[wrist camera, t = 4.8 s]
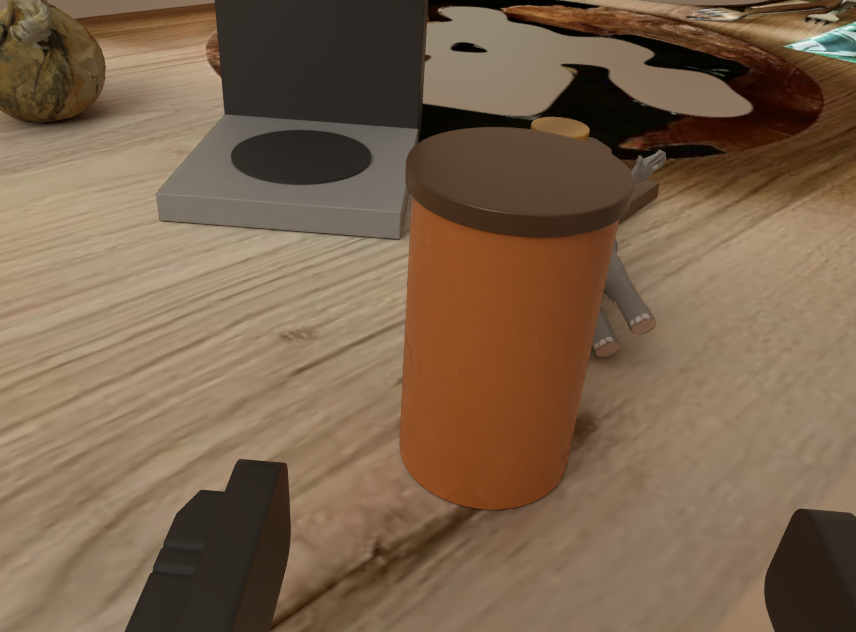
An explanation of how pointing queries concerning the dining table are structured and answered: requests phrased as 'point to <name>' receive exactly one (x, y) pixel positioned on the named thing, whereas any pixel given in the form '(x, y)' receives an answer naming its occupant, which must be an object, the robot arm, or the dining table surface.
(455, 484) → the orange lidded canister
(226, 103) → the dark brown rectangular box
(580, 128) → the button
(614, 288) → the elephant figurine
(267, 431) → the dining table surface
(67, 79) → the onion
